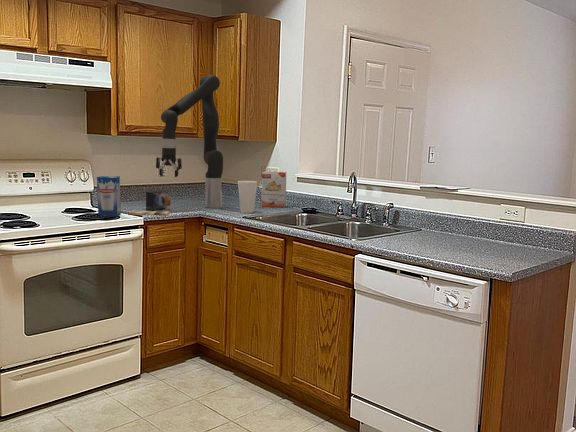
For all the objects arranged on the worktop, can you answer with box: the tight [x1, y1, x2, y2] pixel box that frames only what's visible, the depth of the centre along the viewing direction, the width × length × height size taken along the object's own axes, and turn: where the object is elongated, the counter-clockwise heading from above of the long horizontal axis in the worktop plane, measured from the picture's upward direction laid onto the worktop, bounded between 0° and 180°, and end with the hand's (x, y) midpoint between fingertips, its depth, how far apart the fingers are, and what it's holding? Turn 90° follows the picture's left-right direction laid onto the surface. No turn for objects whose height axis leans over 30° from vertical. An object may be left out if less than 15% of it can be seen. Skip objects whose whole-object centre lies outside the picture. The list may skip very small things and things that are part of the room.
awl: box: [164, 194, 171, 212], centre depth 329 cm, size 3×3×9 cm
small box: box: [145, 189, 168, 211], centre depth 338 cm, size 11×6×10 cm, turn 143°
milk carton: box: [96, 175, 122, 217], centre depth 312 cm, size 10×6×20 cm, turn 89°
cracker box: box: [261, 170, 287, 208], centre depth 359 cm, size 14×6×21 cm, turn 83°
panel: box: [128, 210, 171, 216], centre depth 322 cm, size 20×9×1 cm, turn 90°
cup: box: [237, 180, 258, 214], centre depth 334 cm, size 11×10×17 cm
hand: (168, 176), depth 336 cm, fingers open, 8 cm apart
